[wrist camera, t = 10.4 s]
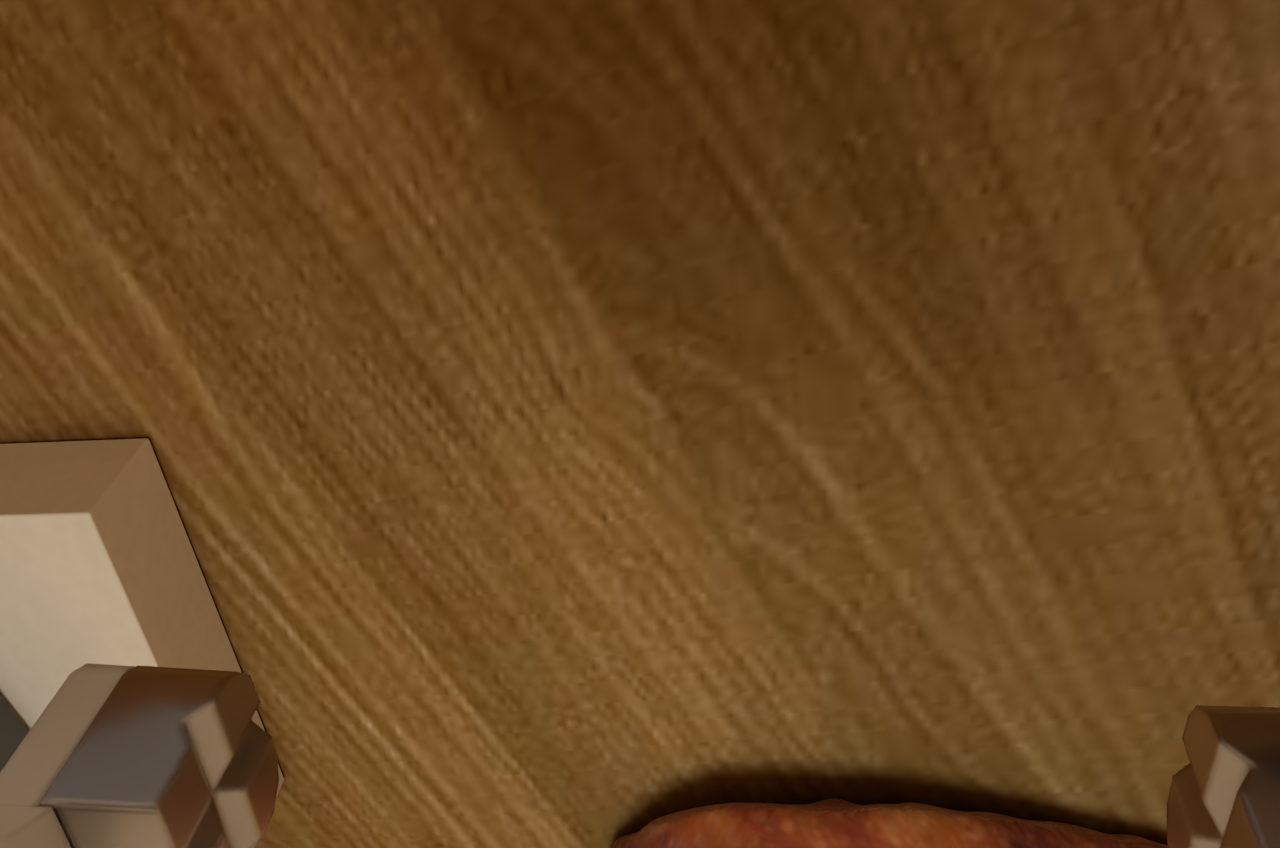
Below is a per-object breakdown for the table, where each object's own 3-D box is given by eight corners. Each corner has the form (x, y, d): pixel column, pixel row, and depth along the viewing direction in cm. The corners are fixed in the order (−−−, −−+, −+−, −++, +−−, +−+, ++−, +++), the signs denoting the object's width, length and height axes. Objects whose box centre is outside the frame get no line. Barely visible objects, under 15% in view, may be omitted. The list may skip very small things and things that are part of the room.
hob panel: (-220, 451, 31) (-315, 528, 28) (149, 436, 29) (84, 518, 26) (-26, 776, 37) (-88, 865, 34) (285, 779, 36) (244, 871, 33)
